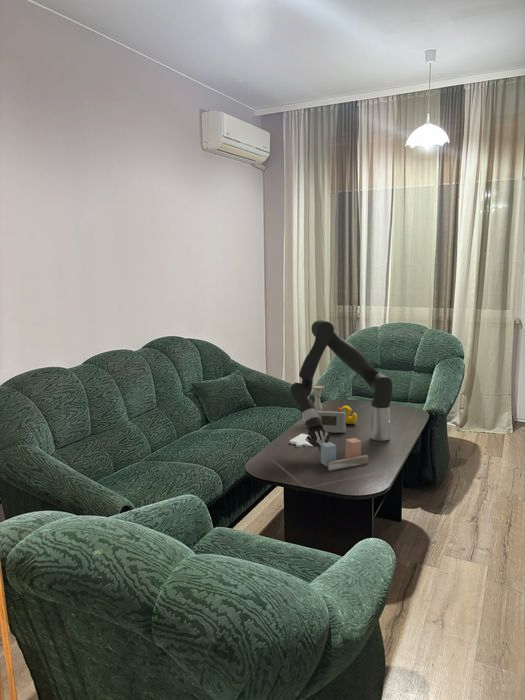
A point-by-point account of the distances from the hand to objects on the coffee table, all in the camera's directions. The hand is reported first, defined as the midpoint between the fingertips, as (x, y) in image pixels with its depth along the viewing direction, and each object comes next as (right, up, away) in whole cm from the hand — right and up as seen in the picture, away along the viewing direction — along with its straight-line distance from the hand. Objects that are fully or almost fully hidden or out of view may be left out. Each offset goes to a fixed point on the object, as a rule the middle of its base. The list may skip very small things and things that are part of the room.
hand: (324, 453), depth 243 cm
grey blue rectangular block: (+1, -4, -2) cm, 5 cm away
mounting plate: (-6, 0, +28) cm, 29 cm away
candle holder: (+3, +6, +62) cm, 63 cm away
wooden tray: (+7, -4, +1) cm, 9 cm away
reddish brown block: (+13, -3, +3) cm, 14 cm away
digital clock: (+8, +3, +44) cm, 45 cm away
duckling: (+19, +6, +57) cm, 61 cm away
